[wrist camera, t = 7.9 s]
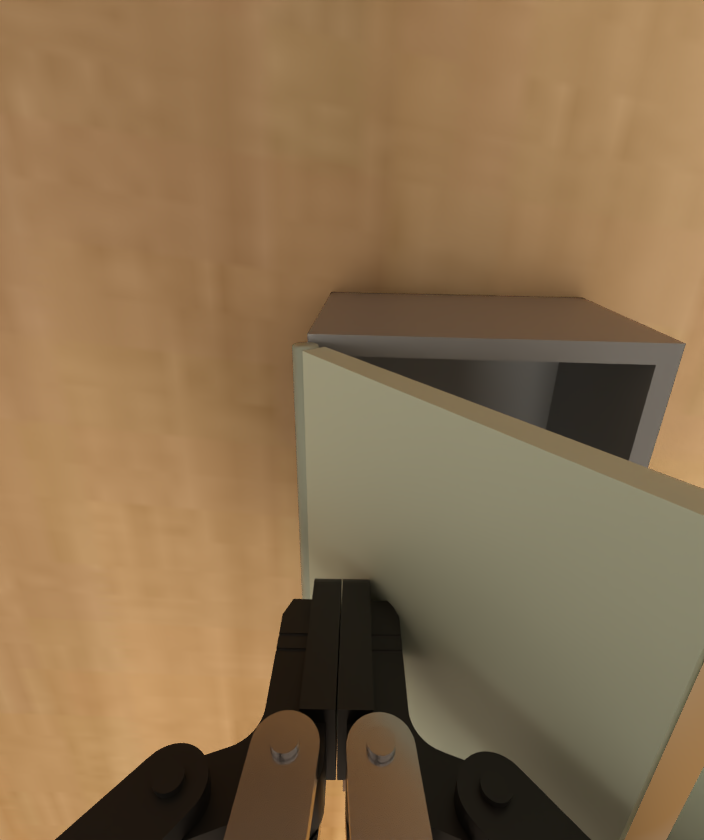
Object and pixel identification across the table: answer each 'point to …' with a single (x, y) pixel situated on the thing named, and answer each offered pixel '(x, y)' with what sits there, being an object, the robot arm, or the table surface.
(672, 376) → the box
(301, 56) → the table surface
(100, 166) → the table surface
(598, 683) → the lid
